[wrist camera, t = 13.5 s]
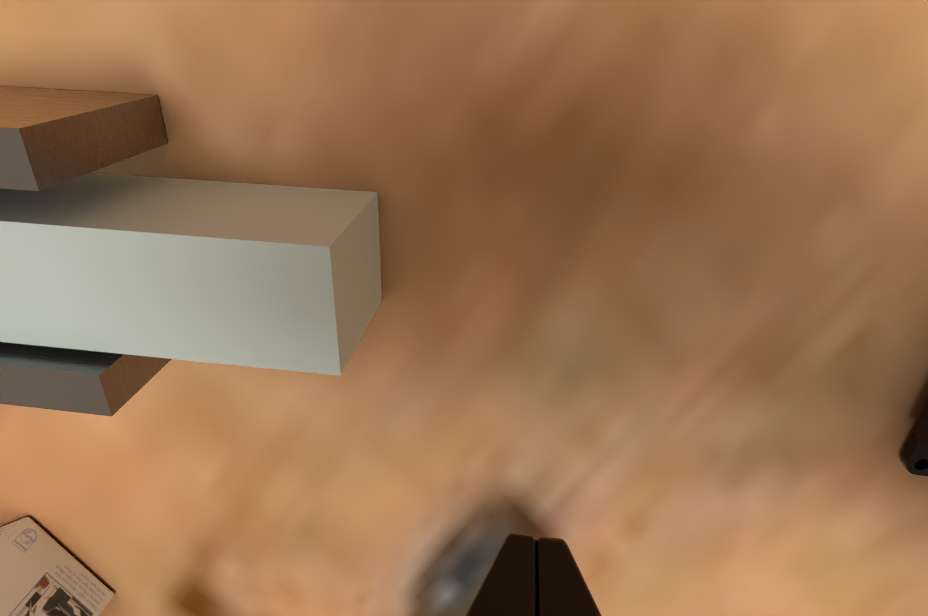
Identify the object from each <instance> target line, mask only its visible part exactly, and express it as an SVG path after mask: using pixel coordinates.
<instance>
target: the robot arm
mask: <svg viewBox="0 0 928 616" xmlns="http://www.w3.org/2000/svg"><path fill="white" fill-rule="evenodd" d="M921 459H922V460H921ZM918 460H920V461H918ZM917 461H918V462H917ZM901 462H902V464H903V465H904V466H905V468H906V469H907V470H908V471H909V472H910V473H911V474H915V475H922V476H928V405H927V407H926V409H925V411H924V413H923V415H922V417H921V419H920V421H919V422H918V424H917V426H916V428H915V430H914V432H913V434H912V436H911V438H910V440H909V442H908V444H907V445H906V447H905V449H904V451H903V453H902V455H901ZM465 616H601V614H600V612H599V610H598V607H597V605H596V603H595V601H594V599H593V597H592V595H591V593H590V591H589V589H588V587H587V585H586V583H585V581H584V578H583V576H582V574H581V572H580V570H579V568H578V566H577V564H576V562H575V560H574V558H573V556H572V554H571V551H570V549H569V547H568V545H567V544H566V542H565V541H564V540H563V539H560V538H552V537H544V536H540V537H538V538H537V539H535V537H534V536H533V535H528V534H520V533H509V534H508V535H507V537H506V538H505V540H504V542H503V544H502V546H501V548H500V550H499V552H498V554H497V556H496V557H495V559H494V561H493V563H492V565H491V567H490V569H489V571H488V573H487V575H486V577H485V579H484V580H483V582H482V584H481V586H480V588H479V590H478V592H477V594H476V596H475V598H474V600H473V602H472V603H471V605H470V607H469V609H468V611H467V613H466V615H465Z"/></svg>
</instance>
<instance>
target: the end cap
mask: <svg viewBox="0 0 928 616" xmlns="http://www.w3.org/2000/svg"><path fill="white" fill-rule="evenodd" d="M167 143H168V142H167V138H166V133H165V128H164V123H163V118H162V113H161V108H160V104H159V99H158V95H147V94H130V93H113V92H95V91H78V90H61V89H44V88H27V87H10V86H0V188H3V189H16V190H29V191H41V190H44V189H46V188H49V187H52V186H54V185H57V184H60V183H62V182H65V181H68V180H70V179H73V178H76V177H78V176H81V175H84V174H86V173H89V172H92V171H95V170H97V169H100V168H103V167H105V166H108V165H111V164H113V163H116V162H119V161H121V160H124V159H127V158H129V157H132V156H135V155H137V154H140V153H143V152H145V151H148V150H151V149H153V148H156V147H159V146H161V145H164V144H167ZM170 360H171V359H168V358H158V357H148V356H138V355H128V354H118V353H108V352H98V351H87V350H77V349H67V348H57V347H47V346H37V345H27V344H17V343H7V342H0V404H8V405H17V406H26V407H35V408H44V409H52V410H61V411H70V412H79V413H88V414H96V415H105V416H113V415H114V414H115V413H116V412H117V411H118V410H119V409H120V408H121V407H122V406H123V405H124V404H125V403H126V402H127V401H128V400H129V399H130V398H131V397H132V396H133V395H135V394H136V393H137V392H138V391H139V390H140V389H141V388H142V387H143V386H144V385H145V384H146V383H147V382H148V381H149V380H150V379H151V378H152V377H153V376H154V375H155V374H156V373H158V372H159V371H160V370H161V369H162V368H163V367H164V366H165V365H166V364H167V363H168V362H169V361H170Z"/></svg>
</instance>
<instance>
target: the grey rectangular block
mask: <svg viewBox="0 0 928 616" xmlns="http://www.w3.org/2000/svg"><path fill="white" fill-rule="evenodd" d="M381 301H382V287H381V262H380V238H379V213H378V192H370V191H356V190H341V189H327V188H312V187H297V186H283V185H268V184H253V183H239V182H224V181H209V180H195V179H180V178H165V177H151V176H136V175H121V174H107V173H92V172H89V173H86V174H84V175H81V176H78V177H76V178H73V179H70V180H68V181H65V182H62V183H60V184H57V185H54V186H52V187H49V188H46V189H44V190H41V191H29V190H16V189H3V188H0V342H7V343H17V344H27V345H37V346H47V347H57V348H67V349H77V350H87V351H98V352H108V353H118V354H128V355H138V356H148V357H158V358H168V359H178V360H188V361H198V362H208V363H218V364H228V365H238V366H248V367H258V368H268V369H278V370H288V371H298V372H308V373H318V374H328V375H338V376H341V374H342V372H343V371H344V369H345V367H346V365H347V363H348V361H349V360H350V358H351V356H352V354H353V352H354V350H355V349H356V347H357V345H358V343H359V341H360V339H361V338H362V336H363V334H364V332H365V330H366V328H367V326H368V325H369V323H370V321H371V319H372V317H373V315H374V314H375V312H376V310H377V308H378V306H379V304H380V303H381Z"/></svg>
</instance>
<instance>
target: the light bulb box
mask: <svg viewBox="0 0 928 616" xmlns="http://www.w3.org/2000/svg"><path fill="white" fill-rule="evenodd" d="M113 596H114V593H113V592H112V591H111V590H110V589H108V588H107V587H106V586H105V585H104V584H103V583H102V582H100V581H99V580H98V579H97V578H96V577H95V576H94V575H93V574H92V573H91V572H89V571H88V570H87V569H86V568H85V567H84V566H83V565H82V564H80V563H79V562H78V561H77V560H76V559H75V558H74V557H73V556H72V555H70V554H69V553H68V552H67V551H66V550H65V549H64V548H63V547H62V546H60V545H59V544H58V543H57V542H56V541H55V540H54V539H53V538H52V537H51V536H49V535H48V534H47V533H46V532H45V531H44V530H43V529H42V528H41V527H40V526H39V525H38V524H36V523H35V522H34V521H33V520H32V519H31V518H29V517H25V518H22V519H20V520H17V521H15V522H12V523H10V524H7V525H5V526H2V527H0V616H100V614H101V613H102V611H103V610H104V609H105V607H106V606H107V604H108V603H109V602H110V600H111V599H112V598H113Z"/></svg>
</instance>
